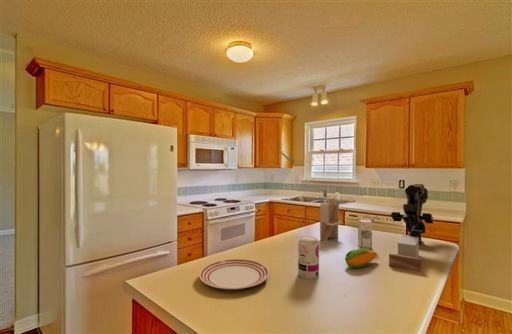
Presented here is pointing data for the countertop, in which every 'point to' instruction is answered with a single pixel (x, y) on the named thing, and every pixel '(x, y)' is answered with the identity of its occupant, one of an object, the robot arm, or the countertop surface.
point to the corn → (359, 257)
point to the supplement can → (308, 257)
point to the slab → (408, 246)
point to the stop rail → (405, 262)
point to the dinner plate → (234, 274)
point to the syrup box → (364, 233)
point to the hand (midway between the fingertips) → (409, 231)
